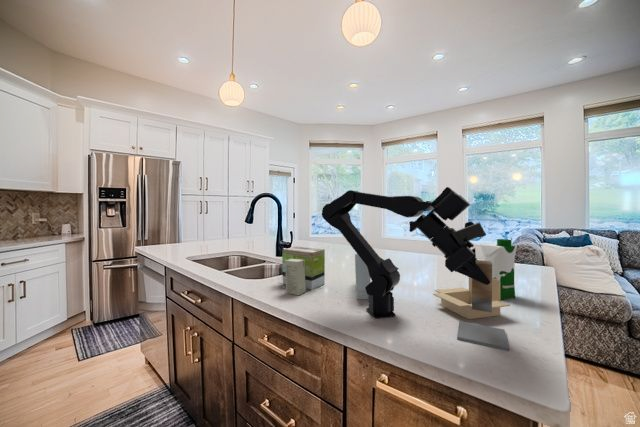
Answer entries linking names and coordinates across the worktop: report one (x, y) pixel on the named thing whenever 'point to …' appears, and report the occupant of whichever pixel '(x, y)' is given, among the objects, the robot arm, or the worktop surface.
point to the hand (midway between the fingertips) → (488, 280)
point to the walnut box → (482, 289)
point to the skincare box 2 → (361, 278)
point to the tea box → (307, 264)
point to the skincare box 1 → (295, 276)
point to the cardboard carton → (469, 301)
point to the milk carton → (502, 265)
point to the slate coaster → (482, 335)
